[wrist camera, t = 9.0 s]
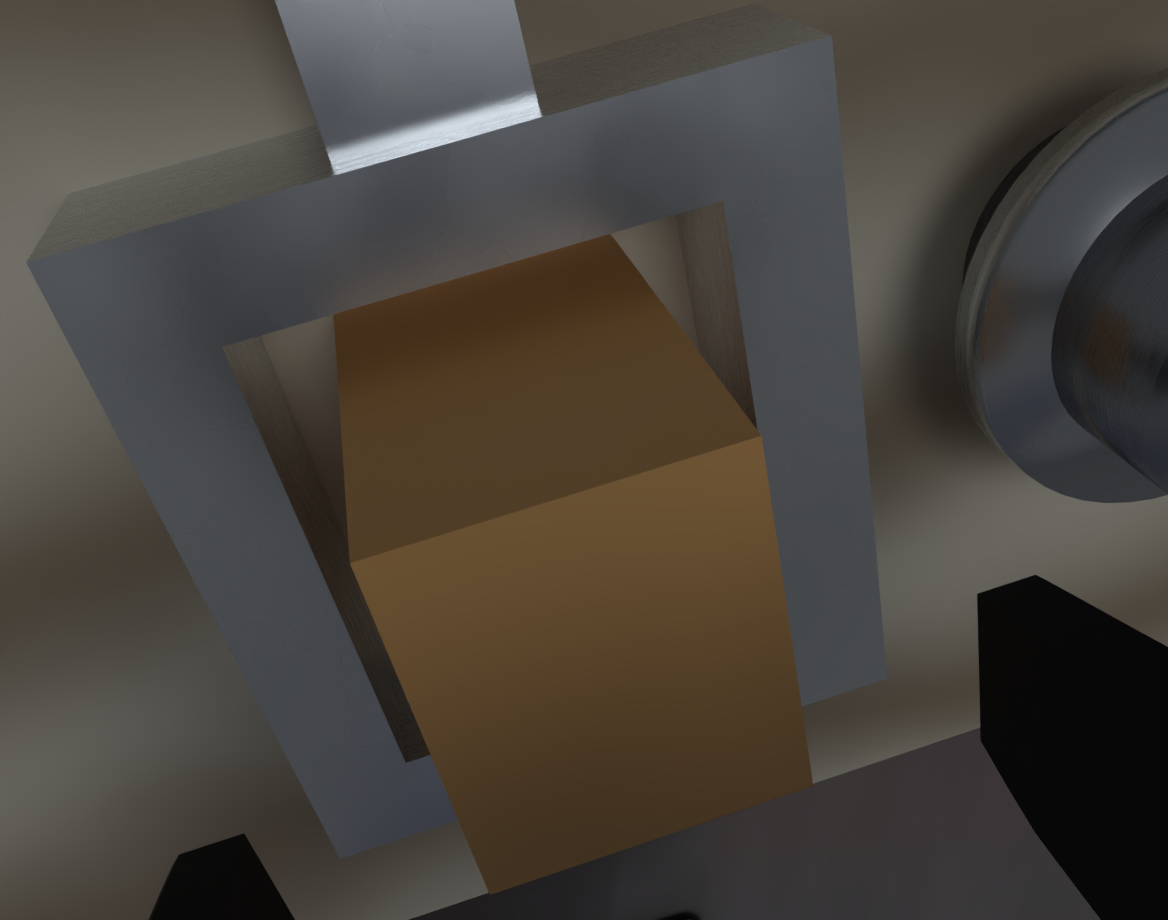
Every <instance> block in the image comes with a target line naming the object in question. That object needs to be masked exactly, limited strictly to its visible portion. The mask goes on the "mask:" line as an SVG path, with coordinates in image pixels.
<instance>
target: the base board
mask: <svg viewBox="0 0 1168 920" xmlns="http://www.w3.org/2000/svg"><path fill="white" fill-rule="evenodd" d="M514 2H515V6H516V11H517V15H518V19H519V24H520V28H521V32H522V36H523V41H524V45H525V49H526V53H527V58H528V62H529V66H530V65H533V64H537V63H541V62H544V61H548V60H551V59H555V58H559V57H562V56H566V55H569V54H573V53H577V52H580V51H584V50H587V49H591V48H595V47H598V46H602V45H605V44H609V43H613V42H616V41H620V40H623V39H627V38H631V37H634V36H638V35H641V34H645V33H649V32H652V31H656V30H659V29H663V28H667V27H670V26H674V25H677V24H681V23H685V22H688V21H692V20H695V19H699V18H703V17H706V16H710V15H713V14H717V13H721V12H724V11H728V10H731V9H735V8H739V7H742V6H746V5H749V4H756V5H758V6H761V7H763V8H766V9H768V10H771V11H773V12H775V13H778V14H780V15H783V16H785V17H788V18H790V19H793V20H795V21H798V22H800V23H803V24H805V25H807V26H810V27H812V28H815V29H817V30H820V31H822V32H825V33H827V34H830V35H832V42H833V54H834V66H835V77H836V89H837V101H838V112H839V124H840V135H841V147H842V159H843V170H844V182H845V194H846V205H847V217H848V229H849V240H850V252H851V263H852V275H853V287H854V298H855V310H856V322H857V333H858V345H859V356H860V368H861V380H862V391H863V403H864V415H865V426H866V438H867V449H868V461H869V473H870V484H871V496H872V508H873V519H874V531H875V542H876V554H877V566H878V577H879V589H880V601H881V612H882V624H883V635H884V647H885V659H886V670H887V679H884V680H881V681H878V682H875V683H872V684H869V685H866V686H863V687H860V688H857V689H854V690H851V691H848V692H845V693H842V694H839V695H836V696H833V697H830V698H827V699H824V700H821V701H818V702H815V703H812V704H809V705H806V706H802V712H803V719H804V726H805V733H806V739H807V746H808V753H809V760H810V766H811V773H812V780H813V783H816V782H819V781H822V780H825V779H828V778H831V777H834V776H837V775H840V774H843V773H846V772H849V771H852V770H855V769H858V768H861V767H864V766H867V765H870V764H873V763H876V762H879V761H882V760H885V759H888V758H891V757H894V756H897V755H900V754H902V753H905V752H908V751H911V750H914V749H917V748H920V747H923V746H926V745H929V744H932V743H935V742H938V741H941V740H944V739H947V738H950V737H953V736H956V735H959V734H962V733H965V732H968V731H971V730H974V729H977V728H980V692H979V653H978V614H977V594H978V593H981V592H984V591H987V590H990V589H993V588H996V587H999V586H1002V585H1005V584H1008V583H1011V582H1015V581H1018V580H1021V579H1024V578H1027V577H1030V576H1033V575H1037V576H1039V577H1041V578H1043V579H1045V580H1047V581H1049V582H1051V583H1052V584H1054V585H1056V586H1058V587H1060V588H1062V589H1064V590H1065V591H1067V592H1069V593H1071V594H1073V595H1075V596H1076V597H1078V598H1080V599H1082V600H1084V601H1085V602H1087V603H1089V604H1091V605H1093V606H1094V607H1096V608H1098V609H1100V610H1102V611H1103V612H1105V613H1107V614H1109V615H1111V616H1112V617H1114V618H1116V619H1118V620H1120V621H1121V622H1123V623H1125V624H1127V625H1129V626H1131V627H1132V628H1134V629H1136V630H1138V631H1140V632H1142V633H1143V634H1145V635H1147V636H1149V637H1151V638H1153V639H1154V640H1156V641H1158V642H1160V643H1162V644H1164V645H1165V646H1167V647H1168V495H1166V496H1162V497H1158V498H1155V499H1149V500H1142V501H1136V502H1128V503H1101V502H1091V501H1083V500H1080V499H1076V498H1072V497H1068V496H1064V495H1062V494H1060V493H1057V492H1055V491H1053V490H1051V489H1049V488H1046V487H1044V486H1043V485H1041V484H1040V483H1038V482H1037V481H1036V480H1034V479H1033V478H1031V477H1030V476H1028V475H1027V474H1026V473H1025V472H1024V471H1023V470H1021V469H1020V468H1019V467H1018V466H1017V465H1016V464H1015V463H1014V462H1013V461H1011V460H1010V459H1009V458H1008V457H1007V456H1006V455H1005V454H1004V453H1003V452H1001V451H1000V450H999V449H998V448H997V447H996V446H995V445H994V444H993V443H992V442H991V441H990V440H989V439H988V438H987V437H986V436H985V435H984V434H983V432H982V431H981V429H980V428H979V426H978V425H977V423H976V422H975V420H974V419H973V418H972V416H971V413H970V411H969V409H968V407H967V405H966V402H965V400H964V398H963V395H962V391H961V387H960V384H959V380H958V376H957V369H956V359H955V324H956V318H957V312H958V306H959V300H960V295H961V291H962V286H963V270H964V264H965V258H966V253H967V250H968V246H969V243H970V239H971V236H972V234H973V231H974V229H975V226H976V224H977V222H978V219H979V217H980V215H981V213H982V212H983V210H984V208H985V206H986V204H987V202H988V200H989V199H990V198H991V196H992V195H993V193H994V192H995V190H996V189H997V187H998V186H999V184H1000V183H1001V182H1002V180H1003V179H1004V178H1005V177H1006V176H1007V174H1008V173H1009V172H1010V171H1011V170H1012V168H1013V167H1014V166H1015V165H1016V164H1017V163H1018V162H1019V161H1020V160H1021V159H1022V158H1023V157H1024V156H1025V155H1026V154H1027V153H1028V152H1030V151H1031V150H1032V149H1033V148H1035V147H1036V146H1037V145H1038V144H1040V143H1041V142H1042V141H1043V140H1044V139H1046V138H1048V137H1049V136H1051V135H1052V134H1054V133H1055V132H1057V131H1058V130H1060V129H1061V128H1063V127H1065V126H1067V125H1069V124H1070V123H1072V122H1073V121H1074V120H1075V119H1077V118H1078V117H1079V116H1080V115H1081V114H1083V113H1084V112H1085V111H1086V110H1088V109H1089V108H1090V107H1092V106H1094V105H1095V104H1097V103H1098V102H1100V101H1101V100H1103V99H1104V98H1106V97H1107V96H1109V95H1110V94H1112V93H1114V92H1115V91H1117V90H1118V89H1120V88H1122V87H1124V86H1126V85H1128V84H1130V83H1132V82H1134V81H1136V80H1138V79H1140V78H1142V77H1144V76H1146V75H1149V74H1152V73H1154V72H1157V71H1160V70H1163V69H1165V68H1168V0H514ZM314 125H317V121H316V118H315V115H314V112H313V109H312V107H311V104H310V101H309V98H308V95H307V92H306V89H305V86H304V83H303V81H302V78H301V75H300V72H299V69H298V66H297V63H296V60H295V57H294V54H293V52H292V49H291V46H290V43H289V40H288V37H287V34H286V31H285V28H284V26H283V23H282V20H281V17H280V14H279V11H278V8H277V5H276V2H275V0H0V920H148V919H149V917H150V915H151V913H152V910H153V908H154V906H155V903H156V901H157V899H158V897H159V894H160V892H161V890H162V887H163V885H164V883H165V881H166V878H167V876H168V874H169V872H170V869H171V867H172V865H173V864H174V862H175V860H176V859H177V857H178V855H179V854H182V853H185V852H188V851H191V850H194V849H197V848H200V847H203V846H206V845H209V844H213V843H216V842H219V841H222V840H225V839H228V838H231V837H234V836H237V835H240V834H243V833H244V834H245V835H246V837H247V839H248V840H249V842H250V844H251V846H252V847H253V849H254V851H255V852H256V854H257V856H258V857H259V859H260V861H261V863H262V864H263V866H264V868H265V869H266V871H267V873H268V875H269V876H270V878H271V880H272V881H273V883H274V885H275V886H276V888H277V890H278V892H279V893H280V895H281V897H282V898H283V900H284V902H285V903H286V905H287V907H288V909H289V910H290V912H291V914H292V915H293V917H294V919H295V920H409V919H412V918H415V917H418V916H421V915H424V914H427V913H430V912H433V911H436V910H438V909H441V908H444V907H447V906H450V905H453V904H456V903H459V902H462V901H465V900H468V899H471V898H474V897H477V896H480V895H483V894H486V893H489V892H488V890H487V887H486V885H485V883H484V880H483V878H482V875H481V873H480V871H479V868H478V866H477V864H476V861H475V859H474V856H473V854H472V852H471V849H470V847H469V845H468V842H467V840H466V838H465V835H464V833H463V830H462V828H461V826H460V823H459V821H458V820H457V821H454V822H451V823H448V824H445V825H442V826H439V827H436V828H433V829H430V830H427V831H424V832H421V833H418V834H415V835H412V836H409V837H406V838H403V839H400V840H397V841H394V842H391V843H388V844H385V845H382V846H379V847H376V848H373V849H370V850H367V851H363V852H360V853H357V854H354V855H351V856H348V857H345V858H342V859H340V858H339V856H338V854H337V852H336V850H335V848H334V846H333V844H332V842H331V840H330V839H329V837H328V835H327V833H326V831H325V829H324V827H323V825H322V823H321V821H320V820H319V818H318V816H317V814H316V812H315V810H314V808H313V806H312V804H311V803H310V801H309V799H308V797H307V795H306V793H305V791H304V789H303V787H302V785H301V784H300V782H299V780H298V778H297V776H296V774H295V772H294V770H293V768H292V766H291V765H290V763H289V761H288V759H287V757H286V755H285V753H284V751H283V749H282V747H281V746H280V744H279V742H278V740H277V738H276V736H275V734H274V732H273V730H272V728H271V727H270V725H269V723H268V721H267V719H266V717H265V715H264V713H263V711H262V709H261V708H260V706H259V704H258V702H257V700H256V698H255V696H254V694H253V692H252V691H251V689H250V687H249V685H248V683H247V681H246V679H245V677H244V675H243V673H242V672H241V670H240V668H239V666H238V664H237V662H236V660H235V658H234V656H233V654H232V653H231V651H230V649H229V647H228V645H227V643H226V641H225V639H224V637H223V635H222V634H221V632H220V630H219V628H218V626H217V624H216V622H215V620H214V618H213V616H212V615H211V613H210V611H209V609H208V607H207V605H206V603H205V601H204V599H203V597H202V596H201V594H200V592H199V590H198V588H197V586H196V584H195V582H194V580H193V579H192V577H191V575H190V573H189V571H188V569H187V567H186V565H185V563H184V561H183V560H182V558H181V556H180V554H179V552H178V550H177V548H176V546H175V544H174V542H173V541H172V539H171V537H170V535H169V533H168V531H167V529H166V527H165V525H164V523H163V522H162V520H161V518H160V516H159V514H158V512H157V510H156V508H155V506H154V504H153V503H152V501H151V499H150V497H149V495H148V493H147V491H146V489H145V487H144V486H143V484H142V482H141V480H140V478H139V476H138V474H137V472H136V470H135V468H134V467H133V465H132V463H131V461H130V459H129V457H128V455H127V453H126V451H125V449H124V448H123V446H122V444H121V442H120V440H119V438H118V436H117V434H116V432H115V430H114V429H113V427H112V425H111V423H110V421H109V419H108V417H107V415H106V413H105V411H104V410H103V408H102V406H101V404H100V402H99V400H98V398H97V396H96V394H95V392H94V391H93V389H92V387H91V385H90V383H89V381H88V379H87V377H86V375H85V374H84V372H83V370H82V368H81V366H80V364H79V362H78V360H77V358H76V356H75V355H74V353H73V351H72V349H71V347H70V345H69V343H68V341H67V339H66V337H65V336H64V334H63V332H62V330H61V328H60V326H59V324H58V322H57V320H56V318H55V317H54V315H53V313H52V311H51V309H50V307H49V305H48V303H47V301H46V299H45V298H44V296H43V294H42V292H41V290H40V288H39V286H38V284H37V282H36V281H35V279H34V277H33V275H32V273H31V271H30V269H29V267H28V265H27V263H26V262H27V260H28V258H29V257H30V255H31V254H32V252H33V250H34V249H35V247H36V245H37V244H38V242H39V241H40V239H41V237H42V236H43V234H44V233H45V231H46V229H47V228H48V226H49V225H50V223H51V221H52V220H53V218H54V217H55V215H56V213H57V212H58V210H59V208H60V207H61V205H62V204H63V202H64V200H65V199H66V197H67V196H68V194H69V193H72V192H76V191H80V190H83V189H87V188H90V187H94V186H98V185H101V184H105V183H108V182H112V181H116V180H119V179H123V178H126V177H130V176H134V175H137V174H141V173H145V172H148V171H152V170H155V169H159V168H163V167H166V166H170V165H173V164H177V163H181V162H184V161H188V160H191V159H195V158H199V157H202V156H206V155H209V154H213V153H217V152H220V151H224V150H227V149H231V148H235V147H238V146H242V145H245V144H249V143H253V142H256V141H260V140H263V139H267V138H271V137H274V136H278V135H281V134H285V133H289V132H292V131H296V130H299V129H303V128H307V127H310V126H314ZM611 235H612V236H613V238H614V239H615V240H616V242H617V243H618V244H619V246H620V247H621V248H622V250H623V251H624V252H625V254H626V255H627V256H628V258H629V259H630V260H631V262H632V263H633V264H634V266H635V267H636V268H637V270H638V271H639V272H640V274H641V275H642V276H643V278H644V279H645V280H646V282H647V283H648V284H649V286H650V287H651V288H652V290H653V291H654V292H655V294H656V295H657V297H658V298H659V299H660V301H661V302H662V303H663V305H664V306H665V307H666V309H667V310H668V311H669V313H670V314H671V315H672V317H673V318H674V319H675V321H676V322H677V323H678V325H679V326H680V327H681V329H682V330H683V331H684V333H685V334H686V335H687V337H688V338H689V339H690V341H691V342H692V343H693V345H694V346H695V347H696V349H697V350H698V351H699V346H698V340H697V335H696V329H695V323H694V318H693V312H692V306H691V300H690V295H689V289H688V283H687V278H686V272H685V266H684V261H683V255H682V249H681V243H680V238H679V232H678V226H677V221H676V215H673V216H669V217H666V218H662V219H659V220H656V221H652V222H649V223H645V224H642V225H638V226H635V227H632V228H628V229H625V230H621V231H618V232H614V233H611ZM261 337H262V340H263V342H264V345H265V347H266V349H267V352H268V354H269V357H270V359H271V361H272V364H273V366H274V369H275V371H276V373H277V376H278V378H279V381H280V383H281V385H282V388H283V390H284V393H285V395H286V397H287V400H288V402H289V405H290V407H291V409H292V412H293V414H294V416H295V419H296V421H297V424H298V426H299V428H300V431H301V433H302V436H303V438H304V440H305V443H306V445H307V448H308V450H309V452H310V455H311V457H312V460H313V462H314V464H315V467H316V469H317V472H318V474H319V476H320V479H321V481H322V484H323V486H324V488H325V491H326V493H327V495H328V498H329V500H330V503H331V505H332V507H333V510H334V512H335V515H336V517H337V519H338V522H339V524H340V527H341V529H342V531H343V534H344V536H345V539H346V541H347V543H348V528H347V513H346V498H345V482H344V467H343V452H342V437H341V421H340V406H339V391H338V376H337V360H336V345H335V330H334V315H330V316H326V317H323V318H319V319H316V320H313V321H309V322H306V323H302V324H299V325H295V326H292V327H289V328H285V329H282V330H278V331H275V332H271V333H268V334H265V335H261ZM699 353H700V352H699ZM348 546H349V543H348Z"/></svg>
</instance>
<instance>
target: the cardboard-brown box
mask: <svg viewBox="0 0 1168 920" xmlns="http://www.w3.org/2000/svg"><path fill="white" fill-rule="evenodd" d="M333 315H334V330H335V345H336V360H337V376H338V391H339V406H340V421H341V437H342V452H343V467H344V482H345V498H346V513H347V528H348V543H349V559H350V565H351V567H352V570H353V572H354V574H355V577H356V579H357V582H358V584H359V586H360V589H361V591H362V593H363V596H364V598H365V600H366V603H367V605H368V608H369V610H370V612H371V615H372V617H373V619H374V622H375V624H376V627H377V629H378V631H379V634H380V636H381V638H382V641H383V643H384V646H385V648H386V650H387V653H388V655H389V657H390V660H391V662H392V664H393V667H394V669H395V672H396V674H397V676H398V679H399V681H400V683H401V686H402V688H403V691H404V693H405V695H406V698H407V700H408V702H409V705H410V707H411V710H412V712H413V714H414V717H415V719H416V721H417V724H418V726H419V728H420V731H421V733H422V736H423V738H424V740H425V743H426V745H427V747H428V750H429V752H430V755H431V757H432V759H433V762H434V764H435V766H436V769H437V771H438V774H439V776H440V778H441V781H442V783H443V785H444V788H445V790H446V792H447V795H448V797H449V800H450V802H451V804H452V807H453V809H454V811H455V814H456V816H457V819H458V821H459V823H460V826H461V828H462V830H463V833H464V835H465V838H466V840H467V842H468V845H469V847H470V849H471V852H472V854H473V856H474V859H475V861H476V864H477V866H478V868H479V871H480V873H481V875H482V878H483V880H484V883H485V885H486V887H487V890H488V892H489V894H490V895H491V894H494V893H497V892H500V891H503V890H506V889H509V888H512V887H515V886H518V885H521V884H524V883H527V882H530V881H533V880H536V879H539V878H542V877H545V876H548V875H551V874H554V873H557V872H559V871H562V870H565V869H568V868H571V867H574V866H577V865H580V864H583V863H586V862H589V861H592V860H595V859H598V858H601V857H604V856H607V855H610V854H613V853H616V852H619V851H622V850H625V849H628V848H631V847H634V846H637V845H640V844H643V843H646V842H649V841H652V840H655V839H658V838H661V837H663V836H666V835H669V834H672V833H675V832H678V831H681V830H684V829H687V828H690V827H693V826H696V825H699V824H702V823H705V822H708V821H711V820H714V819H717V818H720V817H723V816H726V815H729V814H732V813H735V812H738V811H741V810H744V809H747V808H750V807H753V806H756V805H759V804H762V803H765V802H767V801H770V800H773V799H776V798H779V797H782V796H785V795H788V794H791V793H794V792H797V791H800V790H803V789H806V788H809V787H812V786H813V780H812V773H811V766H810V760H809V753H808V746H807V739H806V733H805V726H804V719H803V712H802V705H801V699H800V692H799V685H798V678H797V672H796V665H795V658H794V651H793V645H792V638H791V631H790V624H789V618H788V611H787V604H786V597H785V591H784V584H783V577H782V570H781V563H780V557H779V550H778V543H777V536H776V530H775V523H774V516H773V509H772V503H771V496H770V489H769V482H768V476H767V469H766V462H765V455H764V448H763V442H762V436H761V434H760V433H759V432H758V430H757V429H756V428H755V426H754V425H753V424H752V422H751V421H750V420H749V418H748V417H747V416H746V414H745V413H744V412H743V410H742V409H741V408H740V406H739V405H738V404H737V402H736V401H735V400H734V398H733V397H732V395H731V394H730V393H729V391H728V390H727V389H726V387H725V386H724V385H723V383H722V382H721V381H720V379H719V378H718V377H717V375H716V374H715V373H714V371H713V370H712V369H711V367H710V366H709V365H708V363H707V362H706V361H705V359H704V358H703V357H702V355H701V354H700V353H699V351H698V350H697V349H696V347H695V346H694V345H693V343H692V342H691V341H690V339H689V338H688V337H687V335H686V334H685V333H684V331H683V330H682V329H681V327H680V326H679V325H678V323H677V322H676V321H675V319H674V318H673V317H672V315H671V314H670V313H669V311H668V310H667V309H666V307H665V306H664V305H663V303H662V302H661V301H660V299H659V298H658V297H657V295H656V294H655V292H654V291H653V290H652V288H651V287H650V286H649V284H648V283H647V282H646V280H645V279H644V278H643V276H642V275H641V274H640V272H639V271H638V270H637V268H636V267H635V266H634V264H633V263H632V262H631V260H630V259H629V258H628V256H627V255H626V254H625V252H624V251H623V250H622V248H621V247H620V246H619V244H618V243H617V242H616V240H615V239H614V238H613V236H612V235H611V234H608V235H604V236H601V237H597V238H594V239H590V240H587V241H584V242H580V243H577V244H573V245H570V246H566V247H563V248H560V249H556V250H553V251H549V252H546V253H542V254H539V255H536V256H532V257H529V258H525V259H522V260H518V261H515V262H512V263H508V264H505V265H501V266H498V267H494V268H491V269H488V270H484V271H481V272H477V273H474V274H470V275H467V276H464V277H460V278H457V279H453V280H450V281H446V282H443V283H440V284H436V285H433V286H429V287H426V288H422V289H419V290H415V291H412V292H409V293H405V294H402V295H398V296H395V297H391V298H388V299H385V300H381V301H378V302H374V303H371V304H367V305H364V306H361V307H357V308H354V309H350V310H347V311H343V312H340V313H337V314H333Z"/></svg>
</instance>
